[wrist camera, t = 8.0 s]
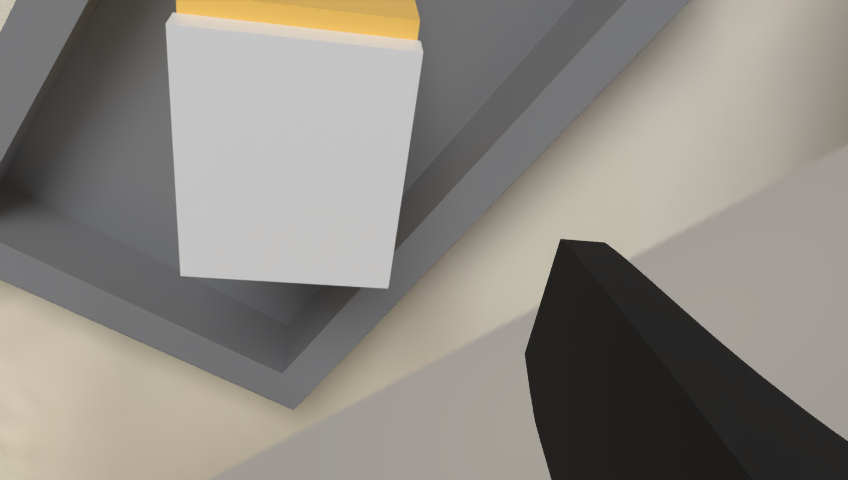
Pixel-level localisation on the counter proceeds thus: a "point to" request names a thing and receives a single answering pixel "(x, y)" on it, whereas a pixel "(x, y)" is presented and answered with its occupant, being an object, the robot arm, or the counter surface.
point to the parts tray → (155, 181)
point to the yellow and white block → (291, 136)
